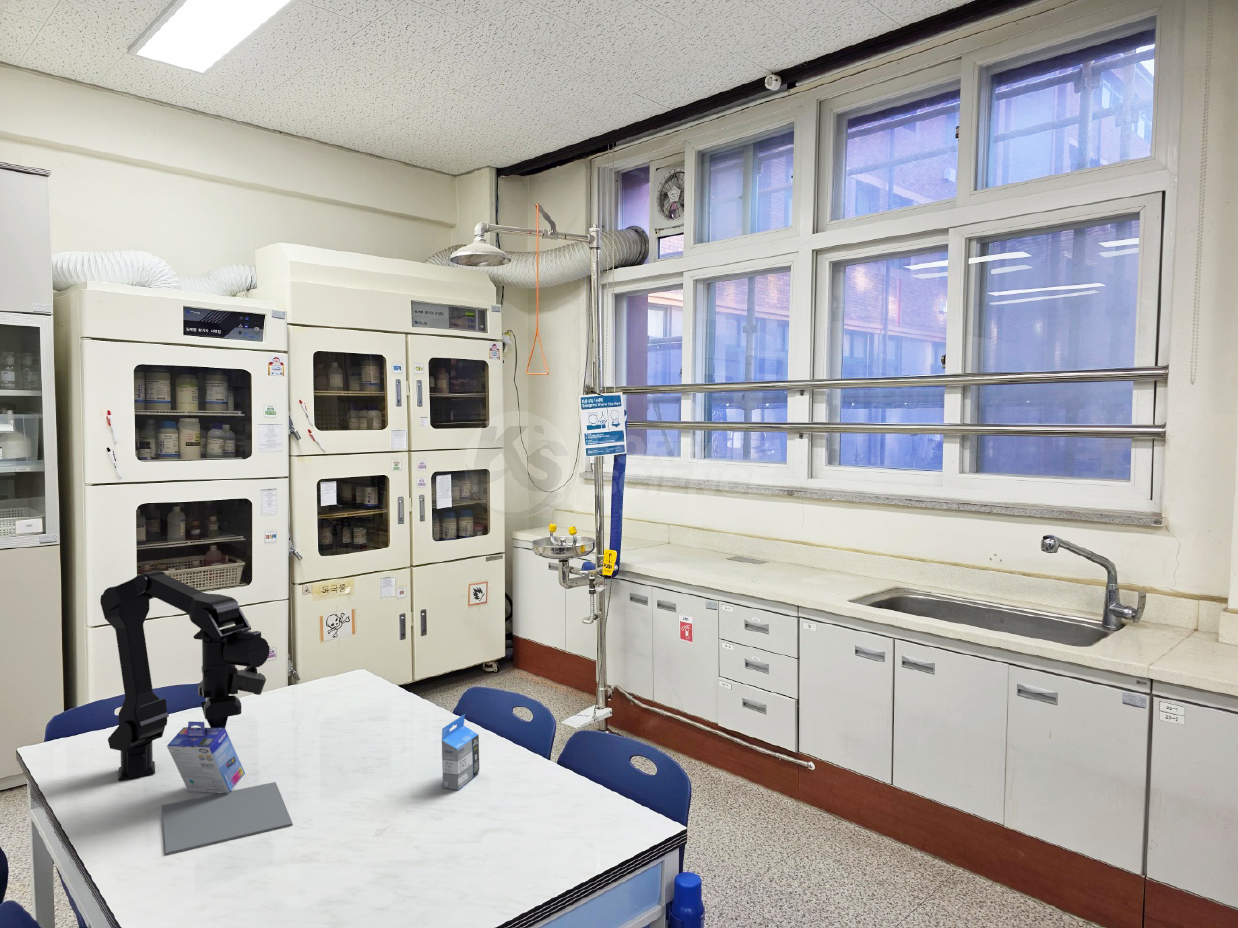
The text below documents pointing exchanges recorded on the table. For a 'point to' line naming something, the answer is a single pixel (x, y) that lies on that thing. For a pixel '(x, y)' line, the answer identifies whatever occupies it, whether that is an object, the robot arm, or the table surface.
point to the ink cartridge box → (206, 759)
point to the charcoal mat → (223, 817)
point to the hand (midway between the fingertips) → (219, 739)
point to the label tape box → (459, 754)
